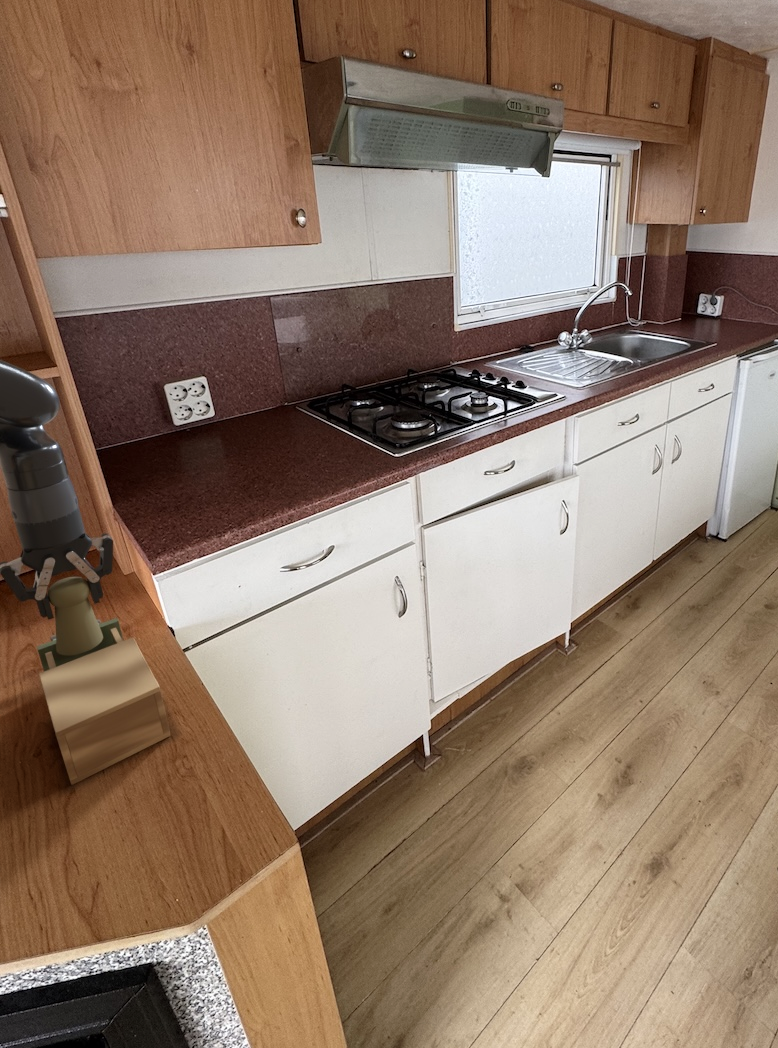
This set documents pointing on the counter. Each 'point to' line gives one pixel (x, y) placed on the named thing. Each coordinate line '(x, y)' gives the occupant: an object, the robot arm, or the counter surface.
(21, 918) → the counter surface
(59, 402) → the robot arm
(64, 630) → the cork
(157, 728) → the cabinet
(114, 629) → the drawer
